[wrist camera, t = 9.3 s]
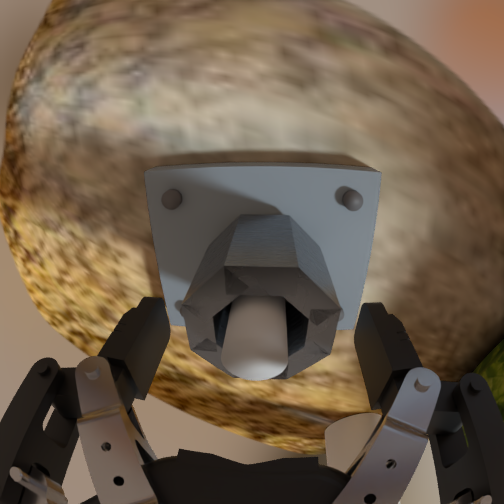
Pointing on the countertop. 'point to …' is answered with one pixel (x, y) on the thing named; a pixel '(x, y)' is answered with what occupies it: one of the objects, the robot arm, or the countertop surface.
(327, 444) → the cylindrical container
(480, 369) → the lettuce
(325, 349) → the collar
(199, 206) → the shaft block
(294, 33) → the countertop surface
